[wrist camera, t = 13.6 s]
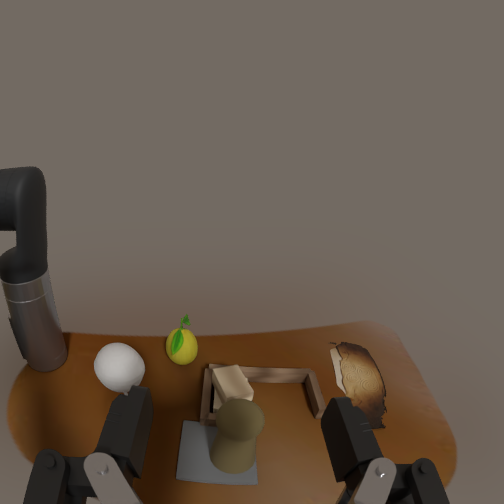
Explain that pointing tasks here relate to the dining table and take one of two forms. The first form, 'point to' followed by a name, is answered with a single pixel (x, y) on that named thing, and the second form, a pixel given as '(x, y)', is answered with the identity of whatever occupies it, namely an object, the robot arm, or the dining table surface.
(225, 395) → the offcut upper
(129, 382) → the lollipop
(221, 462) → the cork
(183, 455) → the pad
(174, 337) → the lemon
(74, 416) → the dining table surface
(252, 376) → the frame
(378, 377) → the parchment
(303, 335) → the dining table surface
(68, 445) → the dining table surface
